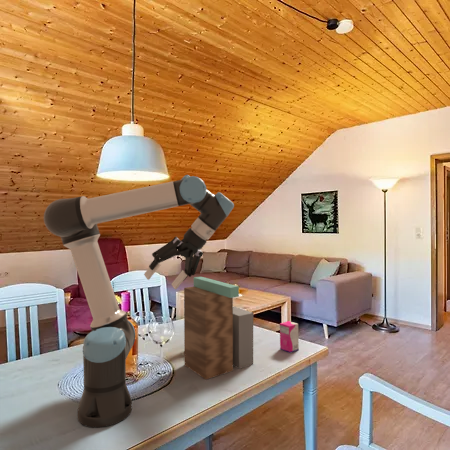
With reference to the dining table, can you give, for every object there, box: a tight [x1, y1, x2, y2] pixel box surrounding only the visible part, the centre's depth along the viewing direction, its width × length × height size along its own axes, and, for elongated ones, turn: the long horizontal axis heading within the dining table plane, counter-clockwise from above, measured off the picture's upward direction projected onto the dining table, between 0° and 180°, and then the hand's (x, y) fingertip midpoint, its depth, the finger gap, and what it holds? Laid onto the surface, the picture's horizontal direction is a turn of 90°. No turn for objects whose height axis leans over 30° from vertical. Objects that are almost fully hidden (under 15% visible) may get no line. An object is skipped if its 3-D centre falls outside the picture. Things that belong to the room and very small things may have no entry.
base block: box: [233, 306, 254, 369], centre depth 140 cm, size 7×12×20 cm, turn 36°
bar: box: [193, 276, 240, 299], centre depth 129 cm, size 4×24×4 cm, turn 36°
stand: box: [183, 285, 234, 380], centre depth 133 cm, size 12×15×30 cm
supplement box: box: [279, 320, 300, 354], centre depth 152 cm, size 6×6×12 cm
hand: (160, 282), depth 120 cm, fingers open, 13 cm apart
